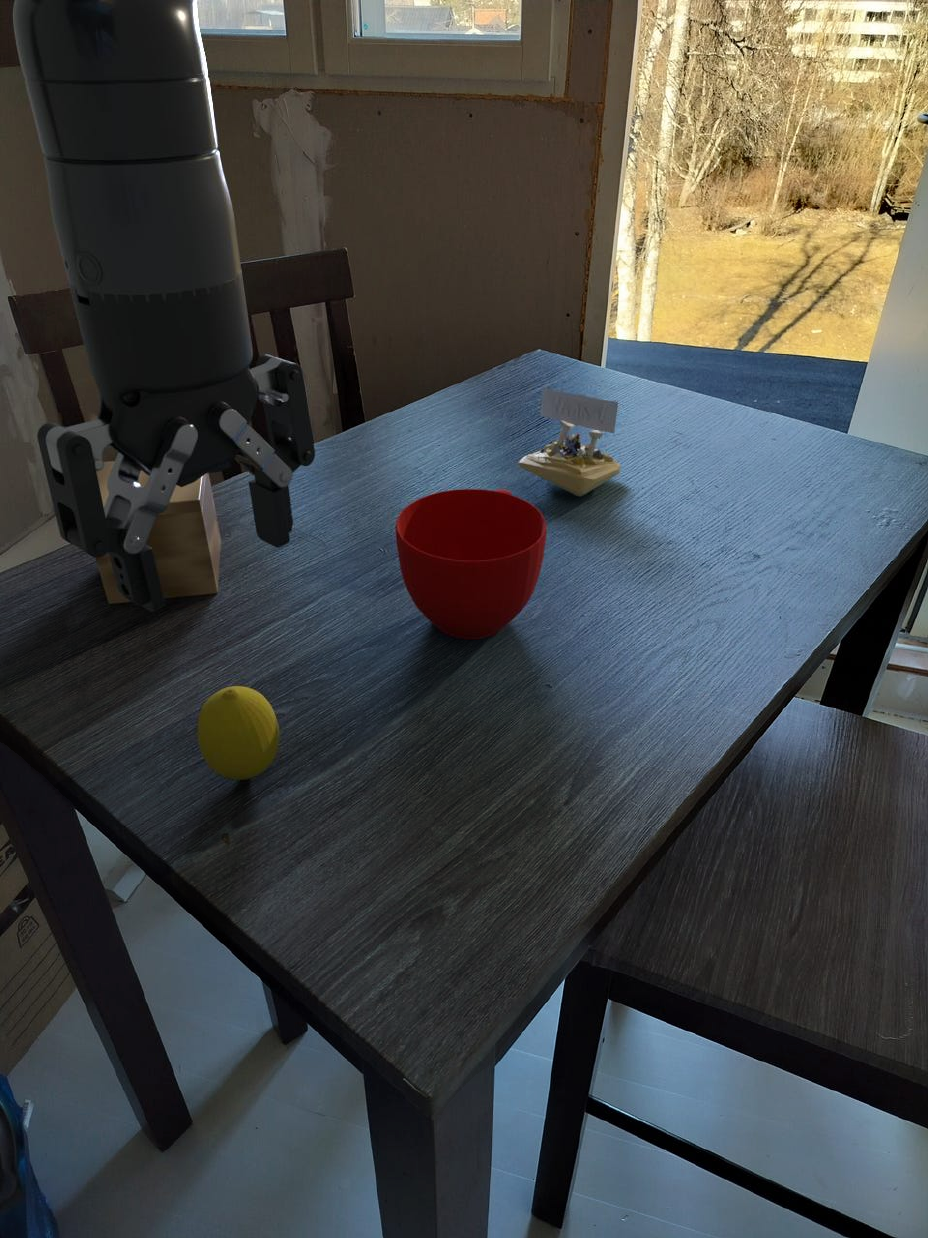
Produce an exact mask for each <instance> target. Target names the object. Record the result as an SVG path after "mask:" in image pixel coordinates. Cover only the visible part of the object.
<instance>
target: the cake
mask: <svg viewBox="0 0 928 1238" xmlns="http://www.w3.org/2000/svg"><path fill="white" fill-rule="evenodd" d="M540 404H541V405H540V415H539V416H540V417H542V418H543V417H544V418H549V419H552V420H559V421H561V422H560V424H559V427H561V431H560V432H559V433H560V434H559V436H558V439H557V441H555V440H552V441H550V442H549V444H547V445H545V446H544V447H543V448H541V449H540V450H538V451H536V452H532V453H528V454H526V455H525V456H523V457H522V458H521V459H520V460H519V461H518V463H517V465H518V466H519V468H521V469H522V470H523V469H524V470H525V471H527V472H529V473H531V474H533V475H535V476H537V477H539V478H541V479H543V480H545V481H547V482H548V483H551V484H553V485H554V486H556V487H558V488H560V489H563V490H564V491H566V492H568V493H569V494H572V495H574V496H576V497H582V496H585V495H586V494H588V493H589V492H591V491H592V490H594V489H596V488H598V487H599V486H601V485H602V484H605V483H606V482H608V481H609V480H611V479H613V478H614V477H616V476H617V475H619V474H620V472H621V467H622V466H621V464H620V463H619V462H617V461H616V460H614V458H613V456H611V455H609V454H608V453H605V452H604V451H601V449H599V448H596V445H597V442H598V439H599V440H600V439H601V438H602V437H603V432H605V433H610V434H615V429H616V422H617V415H618V408H619V402H618V401H616V400H606V399H601V398H596V397H591V396H587V395H585V394H574V393H569V392H564V391H558V390H554V389H551V388H546V387H542V393H541V403H540ZM575 426H578V427H579V426H580V427H583V428H587V429H592V430H589V431H588V435H589V437H590V443H589V442H588V443H587V444H586V445H584V444H582V442H581V439H580V436H581V433H576V434H571V436H570V435H568V433H569V431H572V430H573V429H574V428H575ZM436 446H438V447H441V445H440V444H439V443H438V444H437V445H436Z"/></svg>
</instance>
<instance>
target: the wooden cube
mask: <svg viewBox="0 0 928 1238" xmlns="http://www.w3.org/2000/svg"><path fill="white" fill-rule="evenodd" d="M103 462H104V467H103V469H102V470H99V471H97V477H98V482H99V487H100V492H101V497H102V502H103V507H104V506H105V504H106V501H107V498H108V496H109V491H108V488H107V481H108V478H109V476H110V473H111V470H112V468H113V465H114V463H115V460H111V461H109V460H108V461H103ZM148 479H149V475H147V474H146V473H144V472H143V471H142V470H141V472H140V474H139V478H138V481H139V485H140V486H141V487H144V486H145V485H146V483H147V481H148ZM146 545H147V546H149V547H151V548H152V550H153V555H154V559H155V563H156V567H157V571H158V575H159V580H160V584H161V588H162V592H163V596H164V599H173V598H184V597H192V596H193V597H194V596H202V595H213V594H218V593H219V581H220V579H219V578H220V567H221V565H220V564H221V549H222V539H221V534H220V527H219V522H218V517H217V512H216V507H215V501H214V495H213V490H212V485H211V479H210V473H206V474H205V475H203V476H202V477H200V478H199V479H198V480H196V481H195V482H193V483H191V484H189V485H186V486H184V487H180V486H178V485H176V486H175V489H174V491H173V494H172V497H171V499H170V502H169V504H168V507H167V509H166V510H165V511H164V512H162V513H159V514H158V515H157V517H156V519H155V522H154V524H153V527H152V529H151V532H150V535H149V537H148V540H147V542H146ZM95 562H96V564H97V568H98V572H99V574H100V578H101V582H102V585H103V588H104V589H103V590H104V592H105V595H106V600H107V603H108V605H113V604H124V603H133V602H132V601H130V600H129V599H127V598H125V597H124V596H123V595H122V593H121V592H120V591H119V589H118V585H117V581H116V578H115V574H114V571H113V567H112V563H111V560H110V556H109V553H107V554H105V555H104V556H102V557H99V558H95Z"/></svg>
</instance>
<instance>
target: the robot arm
mask: <svg viewBox="0 0 928 1238" xmlns="http://www.w3.org/2000/svg"><path fill="white" fill-rule="evenodd" d="M197 2H198V0H14V2H13V8H12V22H13V23H12V24H13V31H14V37H15V44H16V49H17V50H16V51H17V54H18V60H19V64H20V67H21V72H22V75H23V78H24V79H25V80H24V84H25V88H26V92H27V96H28V101H29V105H30V108H31V109H30V110H31V112H32V117H33V120H34V125H35V128H36V131H37V137H38V140H39V145H40V148H41V152H42V154H43V155H44V157H43V162H44V166H45V171H46V178H47V179H46V180H47V187H48V196H49V197H48V198H49V204H50V213H51V217H52V223H53V226H54V231H55V232H54V233H55V235H56V239H57V243H58V247H59V251H60V255H61V260H62V263H63V267H64V271H65V275H66V279H67V282H68V283H67V284H68V286H69V290H70V295H71V297H72V298H71V299H72V302H73V306H74V311H75V314H76V319H77V322H78V327H79V330H80V335H81V339H82V342H83V346H84V349H85V350H84V351H85V354H86V358H87V361H88V366H89V369H90V372H91V375H92V377H93V380H94V382H95V386H96V387H97V390H98V393H99V409H98V410H99V411H98V414H97V417H96V419H93V420H89V421H86V422H82V423H78V424H74V425H70V426H61V425H59V424H58V423H55V422H47V423H44V424H43V425H41V426H40V427H39V428H38V430H37V435H36V438H37V442H38V446H39V451H40V455H41V459H42V464H43V468H44V472H45V477H46V481H47V485H48V489H49V494H50V498H51V502H52V506H53V510H54V511H53V512H54V515H55V518H56V523H57V528H58V531H59V535H60V537H61V539H63V540H64V541H65V542H67V543H69V544H71V545H74V546H75V547H77V548H79V549H80V550H82V551H83V552H84V553H85V554H87V555H89V556H90V557H92V558H95V559H96V558H99V557H102V556H104V555H105V554H107V553H109V556H110V560H111V563H112V567H113V571H114V574H115V578H116V581H117V585H118V589H119V591H120V592H121V593H122V595H123V596H124V597H125V598H127V599H129V600H130V601H132V602H131V603H133V604H135V605H137V606H138V607H142V608H144V609H145V610H146V611H148V612H150V613H154V612H155V611H158V610H159V609H161V608H164V607H165V606H166V601H165V598H164V596H163V592H162V588H161V584H160V580H159V575H158V571H157V567H156V563H155V559H154V555H153V550H152V548H151V547H149V546H147V545H146V542H147V540H148V537H149V535H150V532H151V529H152V527H153V524H154V522H155V519H156V517H157V515H158V514H159V513H162V512H164V511H165V510H166V509H167V507H168V504H169V502H170V499H171V497H172V494H173V491H174V489H175V486H176V485H178V486H180V487H184V486H186V485H189V484H191V483H193V482H195V481H196V480H198V479H199V478H200V477H202V476H203V475H205V474H206V473H209V474H213V473H220V472H223V471H225V470H228V469H230V468H232V463H231V462H233V461H234V460H235V462H237V463H238V464H239V465H240V466H241V467H242V468H243V469H244V470H246V471H247V472H248V473H249V474H250V475H252V476H254V479H251V480H249V481H248V486H249V493H250V500H251V505H252V507H251V508H252V512H253V513H252V514H253V519H254V525H255V531H256V534H257V536H258V538H259V539H260V540H261V541H262V542H265V543H267V544H269V545H270V546H273V547H275V548H282V547H283V546H285V545H287V544H289V543H290V540H291V538H290V533H291V532H292V531H293V525H294V518H293V514H292V513H293V511H292V504H291V495H290V488H289V485H290V484H291V482H292V480H293V475H294V474H293V473H294V472H296V471H297V470H298V469H299V468H300V467H301V466H302V467H309V466H310V465H311V464H312V463H313V462H314V461H315V458H316V449H315V442H314V437H313V430H312V429H313V428H312V424H311V418H310V417H311V416H310V411H309V410H310V409H309V405H308V399H307V391H306V386H305V379H304V371H303V369H302V366H301V365H300V364H298V363H295V362H291V361H289V360H286V359H283V358H280V357H276V356H273V355H270V354H266V353H265V354H262V355H260V356H259V357H258V359H257V360H256V363H255V367H252V368H250V366H251V363H252V361H253V358H254V357H253V355H254V350H253V343H252V335H251V329H250V328H251V327H250V322H249V314H248V307H247V299H246V292H245V286H244V279H243V271H242V270H243V269H242V264H241V263H242V262H241V257H240V256H241V255H240V249H239V243H238V234H237V227H236V220H235V215H234V214H235V213H234V208H233V203H232V200H231V196H230V191H229V187H228V184H227V181H226V177H225V173H224V169H223V166H222V161H221V155H220V151H219V150H218V148H219V141H218V134H217V130H216V129H217V128H216V122H215V114H214V105H213V100H212V99H213V98H212V93H211V84H210V78H209V77H208V76H209V72H208V66H207V61H206V55H205V51H204V46H203V41H202V36H201V31H200V26H199V18H198V3H197ZM258 401H260V402H262V406H263V412H264V417H265V422H266V428H267V433H268V439H269V443H268V442H267V441H266V440H265V439H264V438H263V437H262V436H261V435H260V434H259V433H257V431H256V430H255V429H254V428H252V427H251V425H250V423H251V419H252V418H253V415H254V412H255V410H256V407H257V404H258ZM108 446H110V447H111V448H113V449H114V450H116V451H117V452H118V453H117V455H116V458H115V460H114V461H115V463H114V465H113V468H112V470H111V473H110V476H109V478H108V481H107V488H108V491H109V496H108V498H107V501H106V504H105V506H104V507H103V502H102V497H101V492H100V487H99V482H98V477H97V471H99V470H102V469H103V467H104V462H105V461H104V451H105V450H106V448H107V447H108ZM141 470H142V471H143V472H144V473H146V474H147V475H149V479H148V481H147V483H146V485H145V486H144V487H141V486H140V485H139V481H138V478H139V474H140V472H141Z"/></svg>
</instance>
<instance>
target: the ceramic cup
mask: <svg viewBox="0 0 928 1238" xmlns="http://www.w3.org/2000/svg"><path fill="white" fill-rule="evenodd" d="M394 530H395V540H396V541H395V542H396V548H397V555H398V556H397V557H398V562H399V567H400V572H401V577H402V580H403V583H404V586H405V589H406V590H407V592H408V594H409V596H410V598H411V600H412V602H413V604H414V605H415V607H416V608H417V609H418V611H419V612H420V613H421V614H422V616H424V617H425V618H426V619H427V620H428V621H429V622H431V624H433V625H434V626H435V627H436V628H438V629H439V630H440V631H441V632H442V633H443V634H446V635H447V636H450V637H453V638H456V639H462V640H479V639H485V638H488V637H491V636H493V635H495V634H497V633H498V632H500V631H501V630H502V629H503V628H504V627H505V626H506V625H508V624H509V623H511V622H512V621H513V620H514V619H515V618H516V617H517V616H518V615H519V614H520V613H521V612H522V611H523V610H524V608H525V606H526V605H527V604H528V602H529V601H530V600H531V598H532V595H533V594H534V592H535V589H536V587H537V583H538V580H539V578H540V574H541V571H542V565H543V563H544V556H545V550H546V541H547V533H548V532H547V521H546V519H545V517H544V515H543V513H542V512H541V511H540V510H539V508H537V507H536V506H535V505H533V504H532V503H531V502H529V501H527V500H525V499H522V498H520V497H518V496H515V495H514V494H513V493H512V492H511V491H510V490H508V489H504V488H500V489H497V490H489V489H483V488H482V489H480V488H479V489H478V488H462V489H461V488H460V489H451V490H444V491H439V492H436V493H432V494H428V495H426V496H423V497H421V498H418V499H416V500H415V501H413V502H411V503H409V504H408V505H407V506H406V507H405V508H403V509H402V510H401V512H400V513H399V515H398V516H397V519H396V523H395V529H394Z"/></svg>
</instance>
